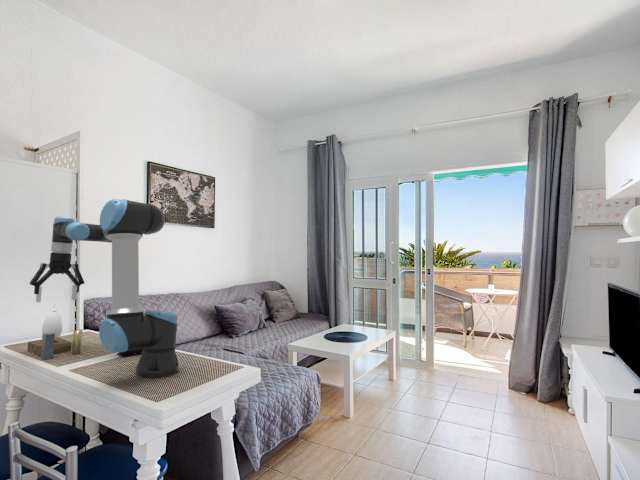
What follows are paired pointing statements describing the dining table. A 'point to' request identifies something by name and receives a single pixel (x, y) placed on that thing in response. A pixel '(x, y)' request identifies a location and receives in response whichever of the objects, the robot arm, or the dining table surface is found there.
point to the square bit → (47, 346)
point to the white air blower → (53, 323)
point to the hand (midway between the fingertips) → (56, 301)
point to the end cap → (130, 352)
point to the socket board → (59, 346)
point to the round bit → (77, 342)
